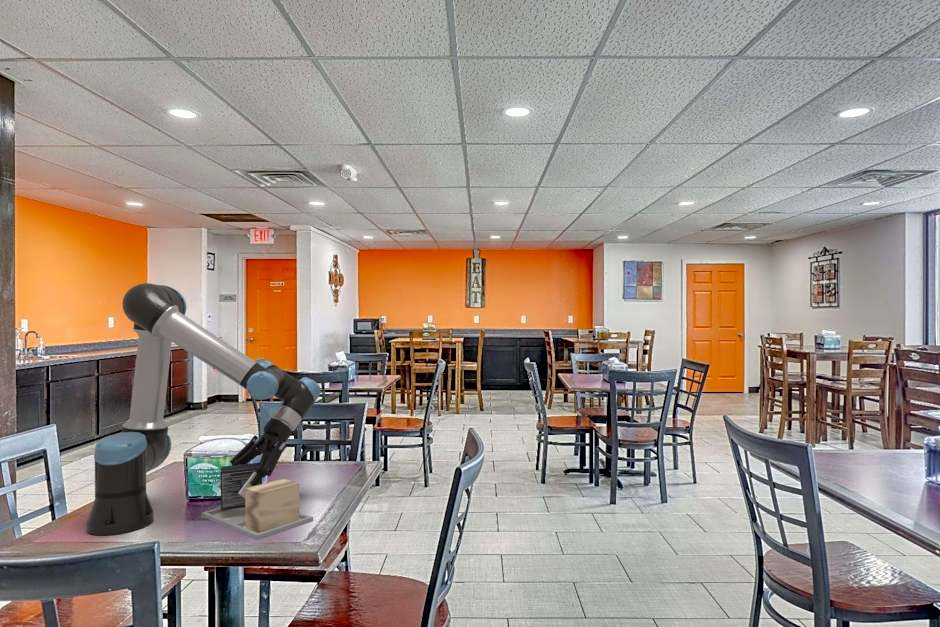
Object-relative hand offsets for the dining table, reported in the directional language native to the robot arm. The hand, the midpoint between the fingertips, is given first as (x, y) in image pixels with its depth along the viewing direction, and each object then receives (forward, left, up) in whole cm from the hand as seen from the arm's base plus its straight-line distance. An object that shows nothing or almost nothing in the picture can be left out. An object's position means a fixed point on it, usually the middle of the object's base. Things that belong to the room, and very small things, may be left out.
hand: (231, 492), depth 153 cm
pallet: (+7, +3, -8) cm, 11 cm away
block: (+15, +3, -6) cm, 16 cm away
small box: (0, +3, -4) cm, 5 cm away
